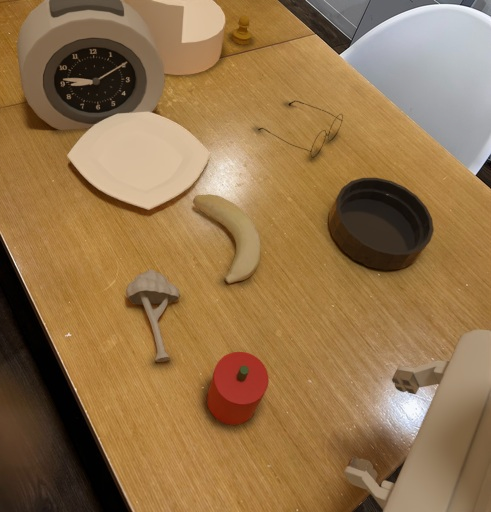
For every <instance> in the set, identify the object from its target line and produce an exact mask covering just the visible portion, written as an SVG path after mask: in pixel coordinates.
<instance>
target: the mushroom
mask: <svg viewBox="0 0 491 512" xmlns="http://www.w3.org/2000/svg"><path fill="white" fill-rule="evenodd" d="M125 296H126V297H127V298H128V300H129V301H130V302H131V303H132V304H133V305H143V307H144V310H145V312H146V315H147V317H148V320H149V322H150V326H151V328H152V332H153V337H154V341H155V343H156V344H155V345H156V350H157V354H156V356H155V359H154V361H155V362H156V363H162V362H167V361H170V360H171V357H170V356H169V355H168V353H167V351H166V348H165V344H164V340H163V335H162V332H161V329H160V324H159V319H160V317H161V316H162V315H163V313H164V311H165V310H166V307H167V306H168V303H174V302H176V301H178V300H179V299H180V297H181V293H180V290H179V288H178V286H177V285H175V284H173V283H169V280H168V278H166V275H164V274H163V273H160V272H157V271H156V270H154V269H148V270H146V271H145V272H142V273H139V274H138V275H136V277H134V280H132V281H131V282H129V283H128V284H127V286H126V288H125ZM158 304H160V305H159V306H158V307H156V308H155V309H154V308H153V306H152V305H158Z"/></svg>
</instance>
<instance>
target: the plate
mask: <svg viewBox="0 0 491 512" xmlns="http://www.w3.org/2000/svg"><path fill="white" fill-rule="evenodd" d="M211 155H212V153H211V152H210V151H209V150H208V148H207V147H206V146H205V145H204V144H203V143H202V142H201V141H200V140H199V139H198V138H197V137H196V136H195V135H194V134H193V133H192V132H190V131H189V130H188V129H186V128H185V127H183V126H182V125H181V124H179V123H177V122H175V121H173V120H171V119H169V118H167V117H165V116H162V115H159V114H157V113H154V112H136V113H131V112H130V113H120V114H115V115H113V116H111V117H109V118H106V119H104V120H102V121H100V122H99V123H97V124H95V125H94V126H92V127H91V128H88V129H87V130H86V131H85V132H84V134H82V135H81V137H80V138H79V139H78V140H77V142H75V144H73V146H72V147H71V149H70V151H69V152H68V153H67V154H66V157H67V159H68V160H69V161H70V162H71V164H72V165H73V166H74V167H75V168H76V170H77V171H78V172H79V174H80V175H81V176H82V177H83V178H84V179H85V180H86V181H87V182H88V183H89V184H91V185H92V186H93V187H94V188H96V190H99V191H100V192H101V193H103V194H106V195H107V196H109V197H111V198H114V199H115V200H118V201H120V202H123V203H126V204H128V205H132V206H135V207H137V208H141V209H144V210H147V211H150V210H152V209H155V208H157V207H159V206H161V205H163V204H165V203H167V202H169V201H171V200H173V199H174V198H176V197H178V196H179V195H181V194H183V193H184V192H185V191H187V190H188V189H189V188H191V187H192V186H193V184H194V183H195V182H196V181H197V180H198V179H199V177H200V176H201V174H202V172H203V171H204V169H205V167H206V166H207V164H208V162H209V159H210V157H211Z"/></svg>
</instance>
